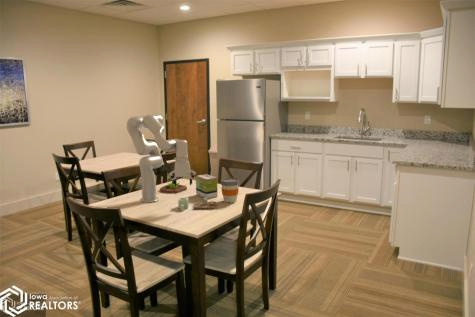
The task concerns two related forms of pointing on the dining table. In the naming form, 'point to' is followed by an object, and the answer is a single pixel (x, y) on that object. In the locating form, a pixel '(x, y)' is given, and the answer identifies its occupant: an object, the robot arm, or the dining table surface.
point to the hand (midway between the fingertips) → (183, 185)
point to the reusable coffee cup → (230, 189)
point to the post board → (204, 205)
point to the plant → (173, 187)
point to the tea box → (206, 186)
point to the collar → (183, 203)
